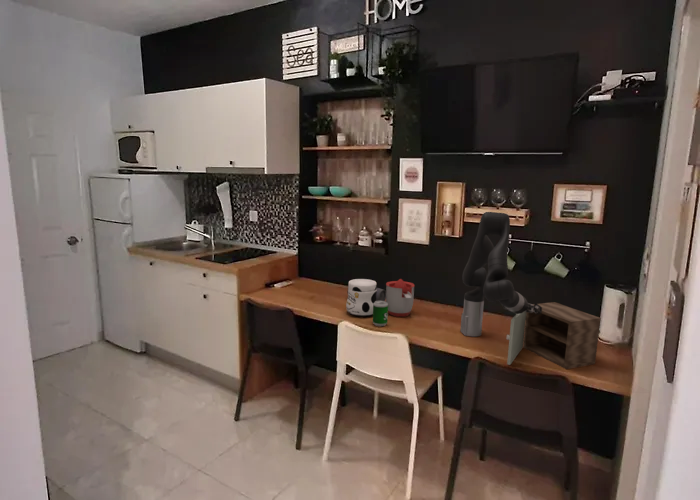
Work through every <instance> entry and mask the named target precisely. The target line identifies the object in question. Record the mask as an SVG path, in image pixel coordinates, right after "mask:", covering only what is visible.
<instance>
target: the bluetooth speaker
mask: <svg viewBox="0 0 700 500" xmlns="http://www.w3.org/2000/svg"><path fill="white" fill-rule="evenodd" d="M347 294H348V290H347ZM376 299H377V301H378V300H382V301H386V290H385V289H382V288H379V287H377V293H376Z"/></svg>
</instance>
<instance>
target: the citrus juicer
mask: <svg viewBox="0 0 700 500" xmlns="http://www.w3.org/2000/svg"><path fill="white" fill-rule="evenodd" d="M385 286H386V288H385V289H386V290H385V291H386V300H385V301H386V302H387V303H388V314H389V315H390V316H394V317H396V318H399V317H407V316H409V315H410V314H411V312H412V308H413V305H414V298H415V296H414V294H415V287H416V286H415V284H414V283H413V282H408V281H404V279H402V278H399V279H398V280H392V281H391V280H390V281H387V282H386V283H385Z"/></svg>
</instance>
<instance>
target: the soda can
mask: <svg viewBox="0 0 700 500" xmlns="http://www.w3.org/2000/svg"><path fill="white" fill-rule="evenodd" d="M388 314H389V313H388V303H387V302H386V300H385V301H382V300H378V301H375V302H374V303H373V315H372V324H373V325H374V326H375V327H385V326H386V325H387V324H388V317H389V315H388Z"/></svg>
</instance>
